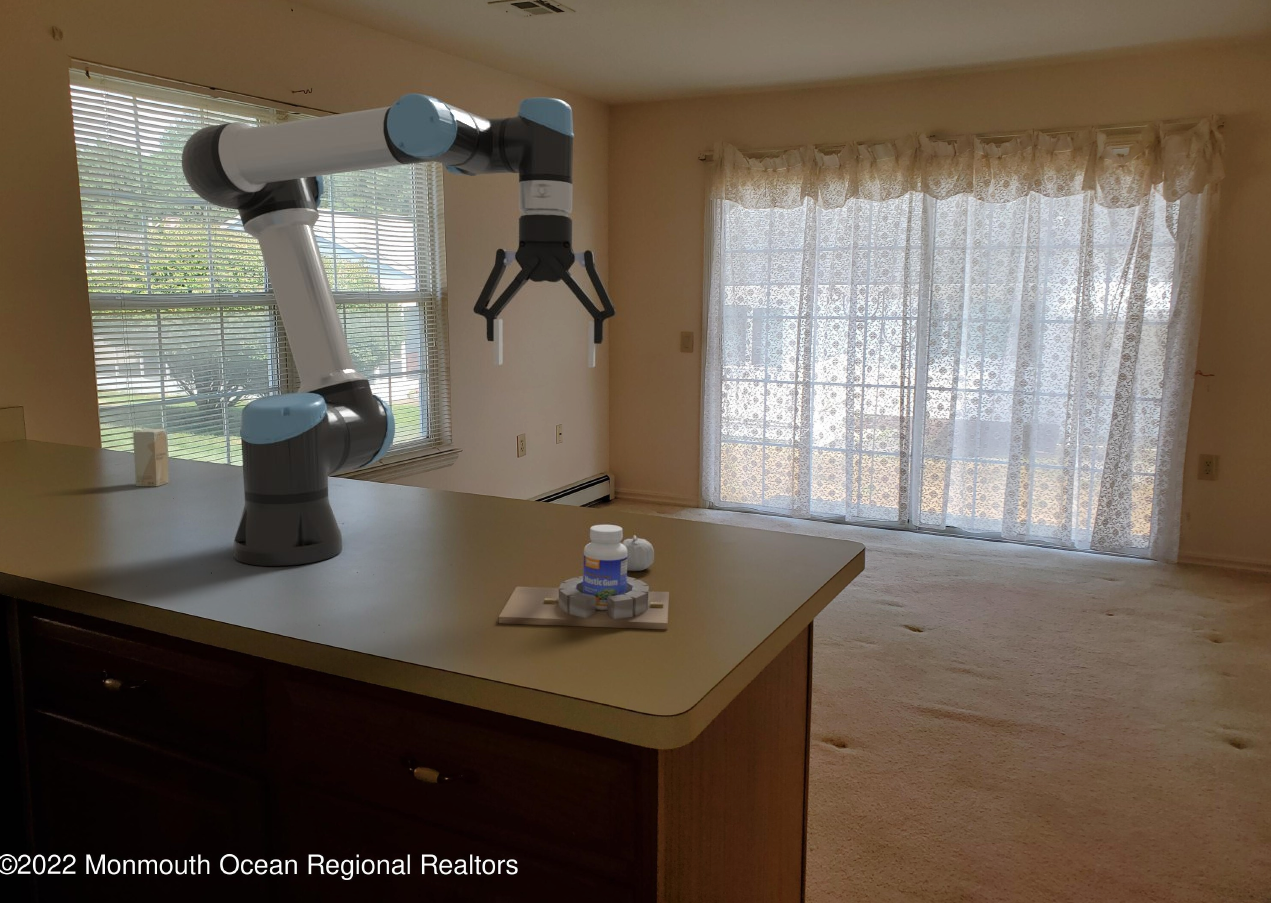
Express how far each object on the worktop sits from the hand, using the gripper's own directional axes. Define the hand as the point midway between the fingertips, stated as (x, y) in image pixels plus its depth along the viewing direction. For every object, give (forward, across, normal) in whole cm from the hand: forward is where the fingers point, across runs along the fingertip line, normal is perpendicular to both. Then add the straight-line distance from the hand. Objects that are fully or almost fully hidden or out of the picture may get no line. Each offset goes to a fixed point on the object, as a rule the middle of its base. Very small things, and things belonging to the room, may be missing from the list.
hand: (544, 366), depth 133 cm
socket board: (+29, +9, -23) cm, 38 cm away
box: (+29, -86, +45) cm, 101 cm away
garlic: (+29, +14, -4) cm, 32 cm away
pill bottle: (+28, +11, -23) cm, 38 cm away
